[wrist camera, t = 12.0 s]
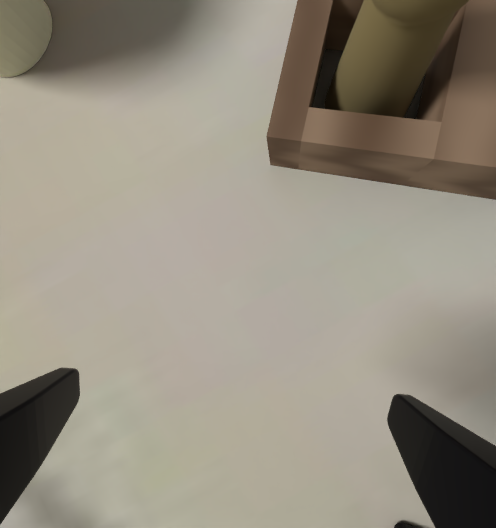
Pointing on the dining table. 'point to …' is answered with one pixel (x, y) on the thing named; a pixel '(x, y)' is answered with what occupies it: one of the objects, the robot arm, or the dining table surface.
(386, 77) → the cork
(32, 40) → the reusable coffee cup
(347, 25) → the walnut jig
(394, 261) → the dining table surface
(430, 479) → the robot arm
